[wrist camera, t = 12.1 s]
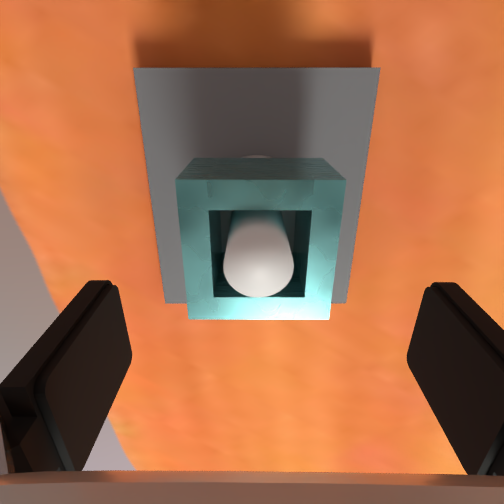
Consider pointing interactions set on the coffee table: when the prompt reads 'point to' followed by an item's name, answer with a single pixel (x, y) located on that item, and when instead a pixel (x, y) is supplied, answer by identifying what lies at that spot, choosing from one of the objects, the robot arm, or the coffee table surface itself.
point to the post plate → (253, 129)
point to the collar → (260, 198)
